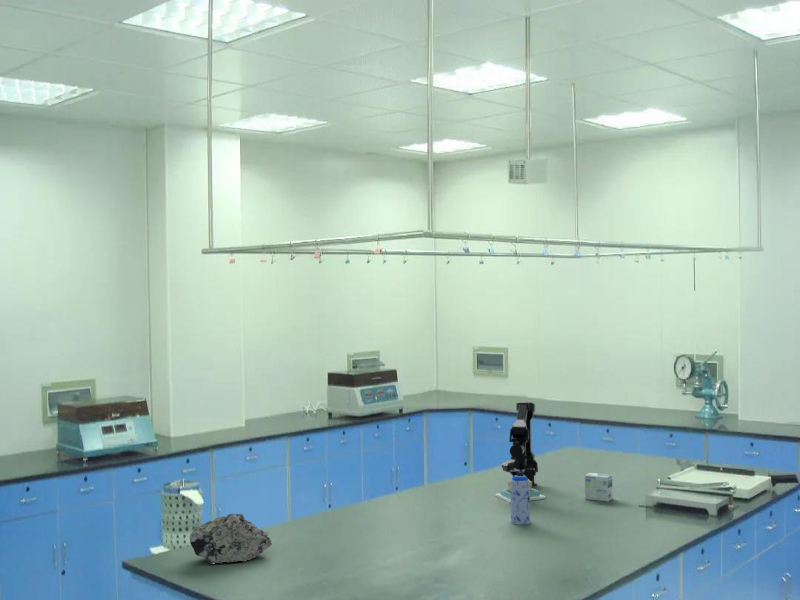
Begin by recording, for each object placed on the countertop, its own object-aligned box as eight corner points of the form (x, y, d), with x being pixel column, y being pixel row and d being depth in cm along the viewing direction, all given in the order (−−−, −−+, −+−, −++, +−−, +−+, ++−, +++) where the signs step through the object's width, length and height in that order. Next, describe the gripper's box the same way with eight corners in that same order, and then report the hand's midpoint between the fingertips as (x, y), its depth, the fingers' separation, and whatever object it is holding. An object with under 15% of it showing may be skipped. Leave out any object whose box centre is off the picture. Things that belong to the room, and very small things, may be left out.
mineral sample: (255, 508, 307) (262, 498, 295) (270, 557, 301) (278, 550, 289) (182, 530, 295) (187, 521, 283) (196, 582, 289) (201, 575, 277)
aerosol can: (530, 524, 328) (529, 474, 328) (510, 524, 330) (509, 473, 329) (531, 519, 336) (530, 470, 336) (511, 518, 337) (510, 469, 337)
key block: (527, 493, 377) (527, 479, 377) (532, 494, 373) (532, 481, 373) (508, 495, 373) (507, 481, 373) (512, 497, 370) (512, 483, 370)
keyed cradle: (495, 495, 377) (494, 489, 377) (529, 492, 383) (529, 485, 383) (509, 502, 364) (509, 495, 364) (545, 498, 370) (545, 491, 370)
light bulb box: (613, 498, 368) (612, 474, 368) (608, 502, 363) (608, 477, 363) (589, 496, 374) (589, 472, 374) (584, 499, 368) (584, 474, 368)
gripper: (493, 451, 379) (494, 485, 379) (513, 458, 362) (514, 494, 362) (515, 449, 383) (515, 483, 383) (536, 456, 366) (536, 492, 366)
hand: (520, 488), depth 373 cm, fingers open, 5 cm apart
